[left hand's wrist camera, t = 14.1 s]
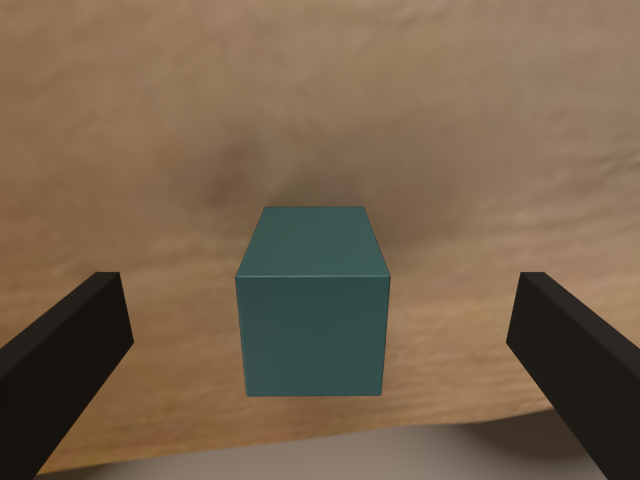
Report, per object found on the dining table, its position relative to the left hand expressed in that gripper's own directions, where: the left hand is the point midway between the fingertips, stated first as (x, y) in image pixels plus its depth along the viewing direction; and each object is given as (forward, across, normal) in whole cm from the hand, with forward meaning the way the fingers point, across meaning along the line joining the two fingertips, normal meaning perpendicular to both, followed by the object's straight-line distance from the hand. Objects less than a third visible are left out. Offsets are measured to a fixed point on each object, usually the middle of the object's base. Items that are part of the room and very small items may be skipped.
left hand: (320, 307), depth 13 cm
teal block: (+4, 0, 0) cm, 4 cm away
